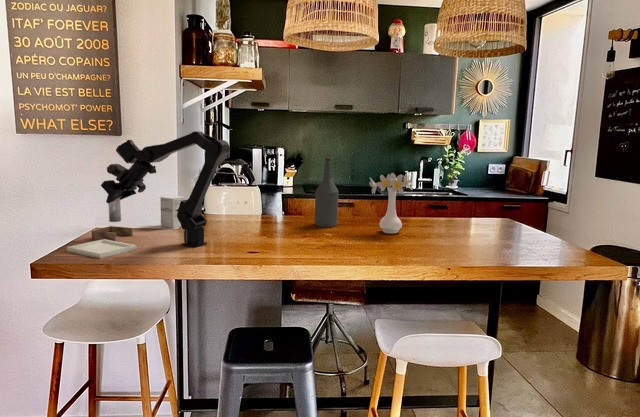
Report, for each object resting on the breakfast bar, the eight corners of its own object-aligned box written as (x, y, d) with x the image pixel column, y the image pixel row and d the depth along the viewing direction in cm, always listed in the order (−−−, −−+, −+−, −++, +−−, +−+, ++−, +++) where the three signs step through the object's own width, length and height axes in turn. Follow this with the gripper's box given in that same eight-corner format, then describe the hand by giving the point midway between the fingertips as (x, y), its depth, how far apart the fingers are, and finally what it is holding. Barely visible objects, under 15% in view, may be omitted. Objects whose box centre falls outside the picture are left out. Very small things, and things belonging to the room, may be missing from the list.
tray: (136, 249, 158) (136, 245, 158) (99, 258, 146) (99, 253, 146) (104, 243, 165) (104, 239, 165) (67, 251, 153) (66, 247, 153)
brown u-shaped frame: (133, 235, 179) (132, 227, 178) (115, 241, 169) (114, 233, 168) (110, 233, 181) (110, 226, 180) (91, 239, 171) (91, 231, 170)
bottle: (310, 223, 212) (312, 157, 207) (329, 222, 217) (332, 157, 212) (321, 228, 203) (323, 158, 198) (341, 226, 208) (343, 158, 203)
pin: (123, 220, 174) (121, 183, 172) (114, 222, 171) (112, 184, 168) (115, 219, 176) (114, 182, 174) (106, 221, 172) (105, 183, 170)
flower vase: (363, 229, 202) (365, 171, 198) (402, 228, 207) (405, 171, 203) (375, 236, 190) (378, 174, 186) (416, 234, 195) (419, 174, 191)
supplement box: (160, 226, 197) (159, 196, 195) (173, 223, 203) (172, 194, 201) (173, 228, 193) (172, 198, 191) (186, 225, 200) (185, 196, 198)
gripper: (137, 155, 178) (113, 183, 182) (104, 157, 160) (78, 188, 164) (156, 177, 177) (132, 204, 181) (125, 181, 159) (99, 211, 163)
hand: (111, 201), depth 173 cm, fingers closed on pin, 4 cm apart
